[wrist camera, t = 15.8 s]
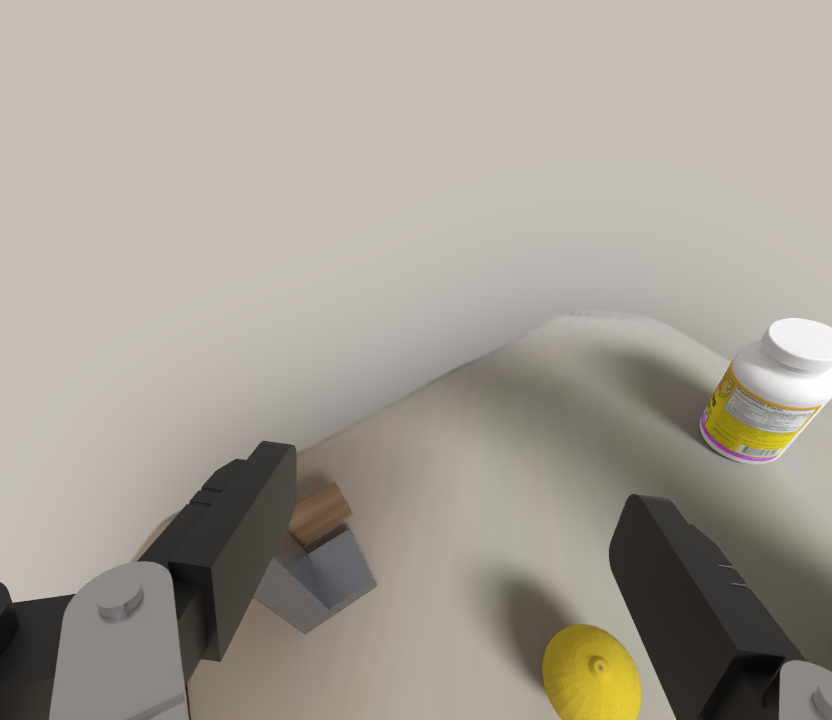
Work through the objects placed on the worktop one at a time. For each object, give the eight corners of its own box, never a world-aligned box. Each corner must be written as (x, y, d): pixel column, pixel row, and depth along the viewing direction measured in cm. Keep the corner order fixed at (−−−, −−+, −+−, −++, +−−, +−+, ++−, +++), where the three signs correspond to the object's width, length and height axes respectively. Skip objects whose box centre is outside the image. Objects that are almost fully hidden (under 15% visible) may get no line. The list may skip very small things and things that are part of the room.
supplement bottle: (725, 398, 42) (786, 298, 33) (796, 443, 38) (889, 341, 29) (680, 430, 40) (733, 333, 31) (750, 481, 36) (834, 384, 27)
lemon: (529, 643, 30) (536, 614, 24) (606, 636, 30) (631, 605, 24) (551, 747, 26) (565, 741, 20) (640, 740, 26) (679, 731, 20)
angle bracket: (377, 585, 34) (328, 511, 24) (305, 634, 32) (221, 575, 23) (353, 535, 38) (302, 452, 28) (287, 576, 36) (207, 504, 26)
